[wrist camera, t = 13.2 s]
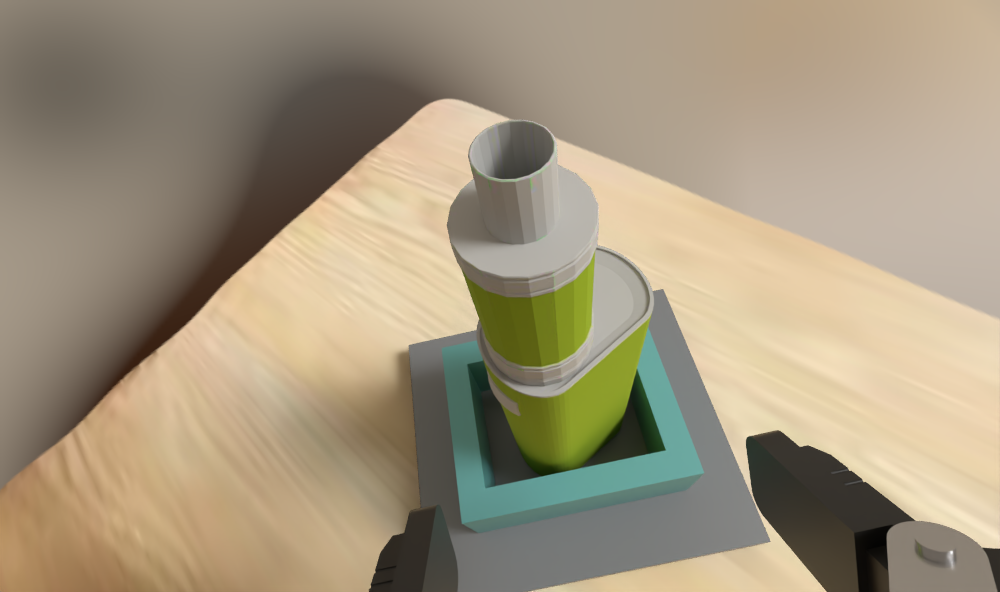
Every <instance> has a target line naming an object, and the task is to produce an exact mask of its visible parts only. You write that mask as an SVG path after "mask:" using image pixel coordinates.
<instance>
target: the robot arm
mask: <svg viewBox="0 0 1000 592" xmlns="http://www.w3.org/2000/svg"><path fill="white" fill-rule="evenodd" d="M746 449H747V456H748V464H749V471H750V479H751V486H752V492H753V496H754V499H755V501H756V504H757V506H758V508H759V510H760V511H761V513H762V515H763V516H764V517H765V518H766V520H767V521H768V522H769V523H770V524H771V526H772V527H773V528H774V529H775V530H776V532H777V533H778V534H779V535H780V536H781V538H782V539H783V540H784V541H785V542H786V544H787V545H788V546H789V547H790V548H791V549H792V551H793V552H794V553H795V554H796V555H797V557H798V558H799V559H800V560H801V561H802V563H803V564H804V565H805V566H806V567H807V569H808V570H809V571H810V572H811V573H812V575H813V576H814V577H815V578H816V579H817V580H818V582H819V583H820V584H821V585H822V586H823V588H824V589H825V590H826V591H827V592H1000V549H992V548H982V547H981V546H980V545H979V544H978V543H976V542H975V541H974V540H973V539H971V538H970V537H968V536H966V535H965V534H963V533H961V532H959V531H957V530H954V529H952V528H949V527H946V526H943V525H940V524H936V523H931V522H924V521H915V520H914V519H913V518H911V517H910V516H909V515H907V514H906V513H905V512H904V511H902V510H901V509H900V508H898V507H897V506H896V505H895V504H893V503H892V502H891V501H889V500H888V499H887V498H886V497H884V496H883V495H882V494H880V493H879V492H878V491H877V490H875V489H874V488H873V487H871V486H870V485H869V484H868V483H866V482H863V481H862V479H861V478H860V477H859V476H857V475H856V474H855V473H853V472H852V471H849V470H848V468H847V467H846V466H844V465H843V464H842V463H841V462H839V461H838V460H837V459H835V458H834V457H833V456H832V455H830V454H827V453H825V452H823V451H820V450H818V449H815V448H813V447H811V446H803V447H799V446H798V445H797V444H796V443H794V442H793V441H792V440H791V439H790V438H788V437H787V436H786V435H785V434H784V433H782V432H781V431H778V430H776V431H772V432H767V433H763V434H758V435H754V436H749V437H747V439H746ZM375 571H376V573H375V574H374V576H373V579H372V583H371V588H370V589H369V592H457V591H458V566H457V560H456V555H455V551H454V548H453V545H452V541H451V538H450V534H449V531H448V528H447V524H446V521H445V518H444V514H443V511H442V508H441V506H440V505H439V504H438V505H433V506H429V507H424V508H420V509H415V510H411V511H410V513H409V517H408V521H407V525H406V529H405V533H403V534H399V535H394V536H392V538H391V539H390V540H389V542H388V543H387V544H386V546H385V547H384V549H383V550H382V551H381V553H380V556H379V559H378V563H377V566H376V569H375Z"/></svg>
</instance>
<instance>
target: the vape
mask: <svg viewBox="0 0 1000 592" xmlns="http://www.w3.org/2000/svg"><path fill="white" fill-rule="evenodd" d="M468 158H469V162H470V166H471V170H472V174H473V178H474V179H473V180H472V181H470V182H469V183H468V184H467V185H466V186H465V187H464V188H463V189H461V191H460V192H459V194H458V196H457V197H456V199H455V200H454V202H453V204H452V205H451V207H450V212H449V217H448V222H447V228H448V233H449V238H450V243H451V246H452V249H453V252H454V255H455V257H456V259H457V262H458V264H459V266H460V267H461V269H462V272H463V274H464V277H465V280H466V283H467V286H468V289H469V291H470V294H471V297H472V300H473V303H474V305H475V308H476V311H477V314H478V317H479V322H478V325H477V333H476V335H477V343H478V347H479V350H480V353H481V356H482V358H483V361H484V364H485V367H486V369H487V374H488V380H489V384H490V387H491V389H492V391H493V393H494V395H495V397H496V398H497V399H498V401H499V402H500V403H501V406H502V408H503V410H504V413H505V415H506V418H507V420H508V423H509V425H510V428H511V430H512V433H513V435H514V438H515V440H516V443H517V445H518V448H519V450H520V453H521V455H522V457H523V459H524V460H525V462H526V463H527V465H528V466H529V467H530V468H531V469H532V470H533V471H534V472H535V473H536V474H538V475H539V476H541V477H542V476H547V475H551V474H556V473H561V472H566V471H570V470H575V469H580V468H582V467H583V466H584V465H585V464H586V463H587V462H588V461H589V460H590V459H591V458H592V457H593V456H595V455H596V454H597V453H598V452H599V451H600V450H601V449H602V448H603V447H604V446H605V445H606V444H607V443H608V442H609V441H610V440H612V439H613V438H614V437H615V436H616V435H617V434H618V433H619V431H620V429H621V426H622V422H623V418H624V414H625V411H626V407H627V403H628V400H629V396H630V392H631V389H632V385H633V381H634V377H635V374H636V370H637V366H638V363H639V359H640V355H641V352H642V348H643V344H644V340H645V337H646V333H647V329H648V326H649V322H650V318H651V315H652V311H653V306H654V296H653V291H652V288H651V286H650V283H649V281H648V280H647V278H646V277H645V275H644V274H643V273H642V271H641V270H640V269H639V268H638V267H637V266H636V265H635V264H634V263H633V262H631V261H630V260H629V259H627V258H626V257H624V256H623V255H621V254H619V253H618V252H616V251H613V250H611V249H609V248H606V247H603V246H598V245H597V240H598V224H599V218H598V203H597V201H596V198H595V196H594V194H593V192H592V189H591V188H590V187H589V186H588V185H587V184H586V183H585V182H584V181H583V180H582V179H581V178H580V177H579V176H578V175H577V174H576V173H574V172H572V171H570V170H568V169H566V168H564V167H562V166H560V165H558V160H557V143H556V140H555V138H554V135H553V134H552V133H551V132H550V131H549V130H548V129H547V128H546V127H544V126H542V125H540V124H538V123H536V122H532V121H527V120H508V121H504V122H500V123H496V124H494V125H492V126H490V127H488V128H486V129H485V130H484V131H482V132H481V133H480V134H479V135H478V136H477V137H476V138H475V139H474V141H473V142H472V144H471V145H470V149H469V154H468Z"/></svg>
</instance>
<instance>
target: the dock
mask: <svg viewBox="0 0 1000 592" xmlns="http://www.w3.org/2000/svg"><path fill="white" fill-rule="evenodd" d="M653 296H654V306H653V311H652V315H651V318H650V322H649V326H648V329H647V333H646V337H645V340H644V344H643V348H642V352H641V355H640V359H639V363H638V366H637V370H636V374H635V377H634V381H633V385H632V389H631V392H630V396H629V400H628V403H627V407H626V411H625V414H624V418H623V422H622V426H621V429H620V431H619V433H618V434H617V435H616V436H615V437H614V438H613V439H612V440H610V441H609V442H608V443H607V444H606V445H605V446H604V447H603V448H602V449H601V450H600V451H599V452H598V453H597V454H596V455H595V456H593V457H592V458H591V459H590V460H589V461H588V462H587V463H586V464H585V465H584V466H583V467H582V468H580V469H575V470H570V471H566V472H561V473H556V474H551V475H547V476H542V477H541V476H539V475H538V474H536V473H535V472H534V471H533V470H532V469H531V468H530V467H529V466H528V465H527V463H526V462H525V460H524V459H523V457H522V455H521V453H520V450H519V448H518V445H517V443H516V440H515V438H514V435H513V433H512V430H511V428H510V425H509V423H508V420H507V418H506V415H505V413H504V410H503V408H502V406H501V403H500V402H499V401H498V399H497V398H496V397H495V395H494V393H493V391H492V389H491V387H490V384H489V380H488V374H487V369H486V367H485V364H484V361H483V358H482V356H481V353H480V350H479V347H478V343H477V335H476V333H477V330H475V331H471V332H466V333H462V334H457V335H453V336H448V337H444V338H439V339H435V340H430V341H425V342H421V343H416V344H412V345H409V356H410V369H411V382H412V396H413V409H414V422H415V436H416V449H417V462H418V475H419V489H420V502H421V508H424V507H429V506H433V505H438V504H439V505H440V506H441V508H442V511H443V514H444V518H445V521H446V524H447V528H448V531H449V534H450V538H451V541H452V545H453V548H454V551H455V555H456V560H457V566H458V591H457V592H528V591H533V590H538V589H543V588H548V587H553V586H558V585H563V584H567V583H572V582H577V581H582V580H587V579H592V578H597V577H602V576H607V575H612V574H617V573H622V572H626V571H631V570H636V569H641V568H646V567H651V566H656V565H661V564H666V563H671V562H676V561H681V560H686V559H690V558H695V557H700V556H705V555H710V554H715V553H720V552H725V551H730V550H735V549H740V548H745V547H750V546H754V545H759V544H764V543H768V542H771V541H770V539H769V537H768V534H767V532H766V530H765V527H764V525H763V523H762V520H761V518H760V516H759V513H758V511H757V509H756V506H755V504H754V501H753V499H752V497H751V494H750V492H749V490H748V487H747V485H746V483H745V480H744V478H743V476H742V473H741V471H740V469H739V466H738V464H737V462H736V459H735V457H734V454H733V452H732V450H731V447H730V445H729V443H728V440H727V438H726V436H725V433H724V431H723V429H722V426H721V424H720V422H719V419H718V417H717V415H716V412H715V410H714V407H713V405H712V403H711V400H710V398H709V396H708V393H707V391H706V389H705V386H704V384H703V382H702V379H701V377H700V375H699V372H698V370H697V368H696V365H695V363H694V360H693V358H692V356H691V353H690V351H689V349H688V346H687V344H686V342H685V339H684V337H683V335H682V332H681V330H680V328H679V325H678V323H677V320H676V318H675V316H674V313H673V311H672V309H671V306H670V304H669V302H668V299H667V297H666V295H665V292H664V290H663V289H661V290H656V291H653Z"/></svg>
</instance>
